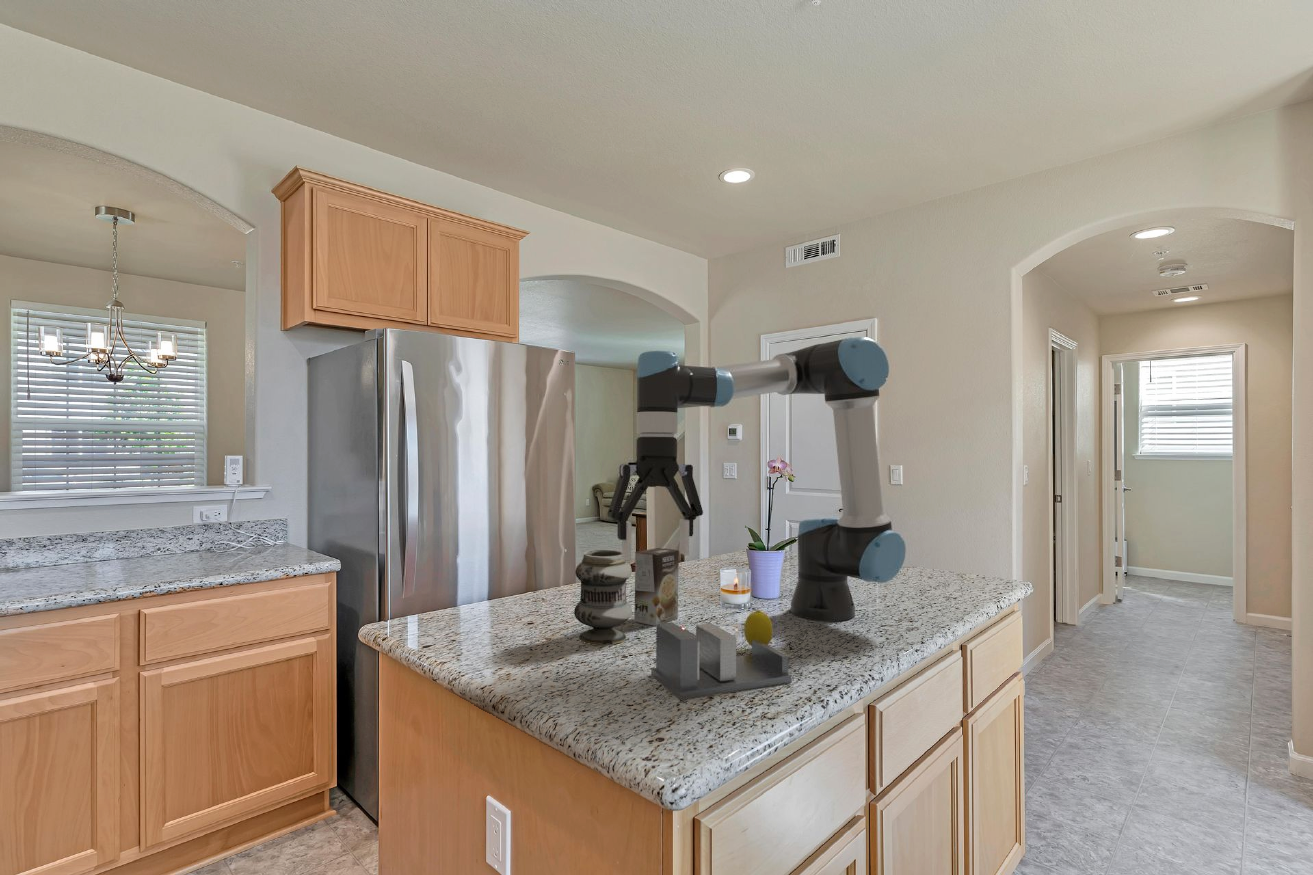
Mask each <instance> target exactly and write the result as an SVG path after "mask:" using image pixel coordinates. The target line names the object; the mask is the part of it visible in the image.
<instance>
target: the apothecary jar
mask: <svg viewBox="0 0 1313 875" xmlns="http://www.w3.org/2000/svg"><path fill="white" fill-rule="evenodd" d="M574 571H575V576H576V578H577V579H578V580H579V581H580V599H579V600H580V601H579V602H577V604H576V605H575V608H574V611H573V614H574V617H575V619H576V620H577V621H578V622H579V623H581V624H583V625H584V626H588V627H591V629H588V630H587V631H584V632H581V633H580V634H579V636H578V639H579V641H580V640H581V641H580V642H582V641H583V642H582V643H584V642H585V643H584V644H587V643H590V644H589V645H591V644H595V645H594V646H606V645H617V644H616V643H618V644H621V643H624V641H626V639H627V636H626V634H625V633H624V632H622V631H620V630H618V629H615V627H618V626H621V625H622V624H625V623H626V622H628V620H629V619H630V618H631V616H632V614H633V608H632V606H631V604H630V603H629V602H628V601H627V580H628V579H630V577H631V575H632V574H633V570H632V567H631V565H630V564H629V563H628V562H627V561H626V558H624V557H622V550H617V549H604V548H603V549H602V548H601V549H592V550H587V551H585V552H584V553H583V558H582V561H581V562H580V563H578V565H577V566H576V568H575V570H574Z"/></svg>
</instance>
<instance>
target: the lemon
mask: <svg viewBox="0 0 1313 875" xmlns="http://www.w3.org/2000/svg"><path fill="white" fill-rule="evenodd" d="M773 634H774V632H773V624H772V621H771V618H770V616H768V614H766V613H765V612H763V611H762V610H760V609H756V610H755V611H754V612H753V611H752V613H750V614H749V615H748V616H747V617H746V620H745V623H744V637H745V639H746V640H745V641H746V642H747V643H748V645H749V646H751V647H752V640H759V641H760V642H762V643H764V644H766V645H768V646H769V644H770V643H771V641H772V639H773Z"/></svg>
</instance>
